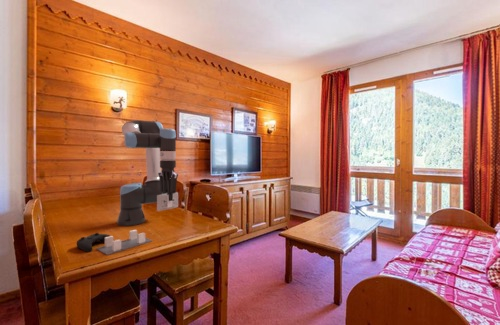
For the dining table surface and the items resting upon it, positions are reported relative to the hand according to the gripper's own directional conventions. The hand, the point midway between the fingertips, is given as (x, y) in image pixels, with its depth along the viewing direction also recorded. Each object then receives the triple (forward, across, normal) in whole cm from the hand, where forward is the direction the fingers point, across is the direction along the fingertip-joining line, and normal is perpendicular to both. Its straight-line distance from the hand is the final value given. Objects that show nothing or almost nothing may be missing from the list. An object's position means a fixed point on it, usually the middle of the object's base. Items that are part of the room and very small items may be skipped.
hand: (168, 206), depth 122 cm
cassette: (+1, 0, 0) cm, 1 cm away
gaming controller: (+16, -16, -28) cm, 36 cm away
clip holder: (+15, -5, -19) cm, 25 cm away
